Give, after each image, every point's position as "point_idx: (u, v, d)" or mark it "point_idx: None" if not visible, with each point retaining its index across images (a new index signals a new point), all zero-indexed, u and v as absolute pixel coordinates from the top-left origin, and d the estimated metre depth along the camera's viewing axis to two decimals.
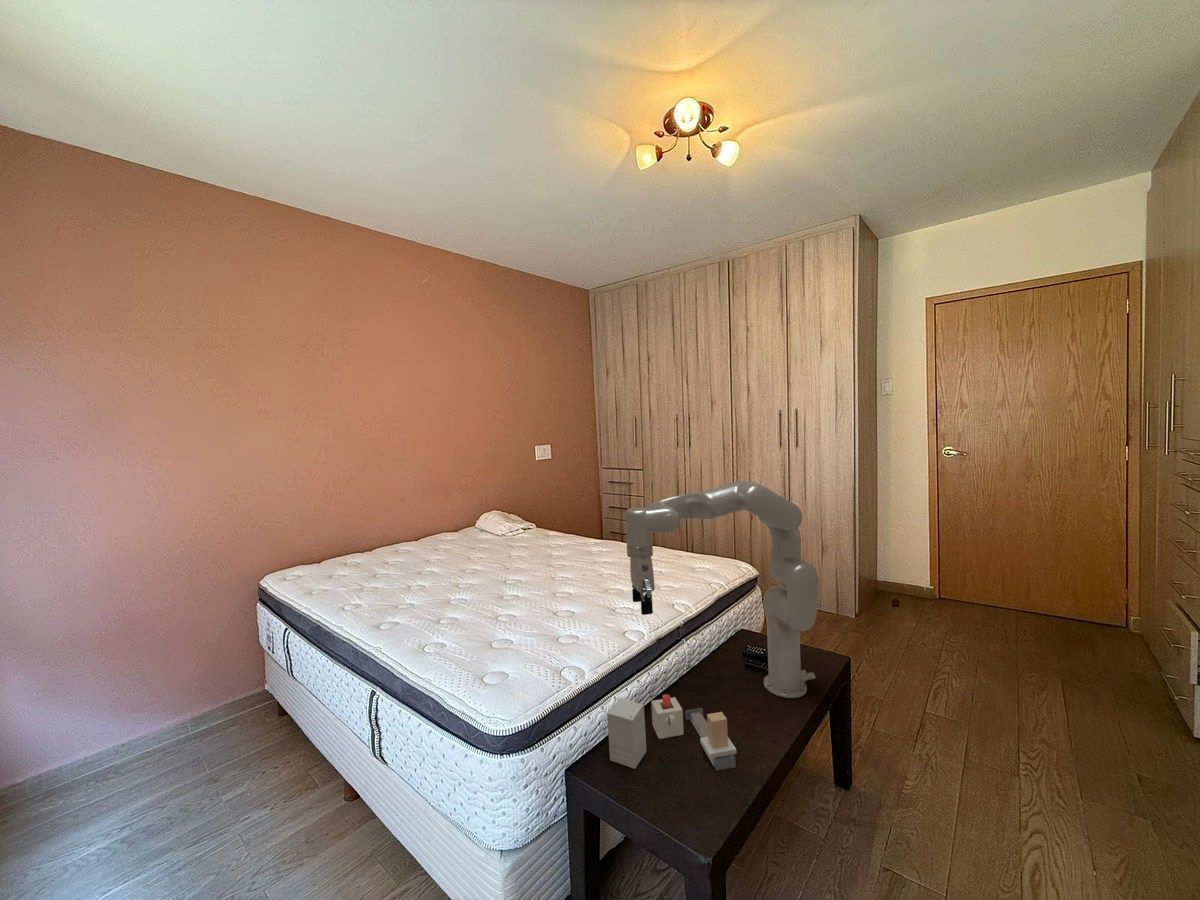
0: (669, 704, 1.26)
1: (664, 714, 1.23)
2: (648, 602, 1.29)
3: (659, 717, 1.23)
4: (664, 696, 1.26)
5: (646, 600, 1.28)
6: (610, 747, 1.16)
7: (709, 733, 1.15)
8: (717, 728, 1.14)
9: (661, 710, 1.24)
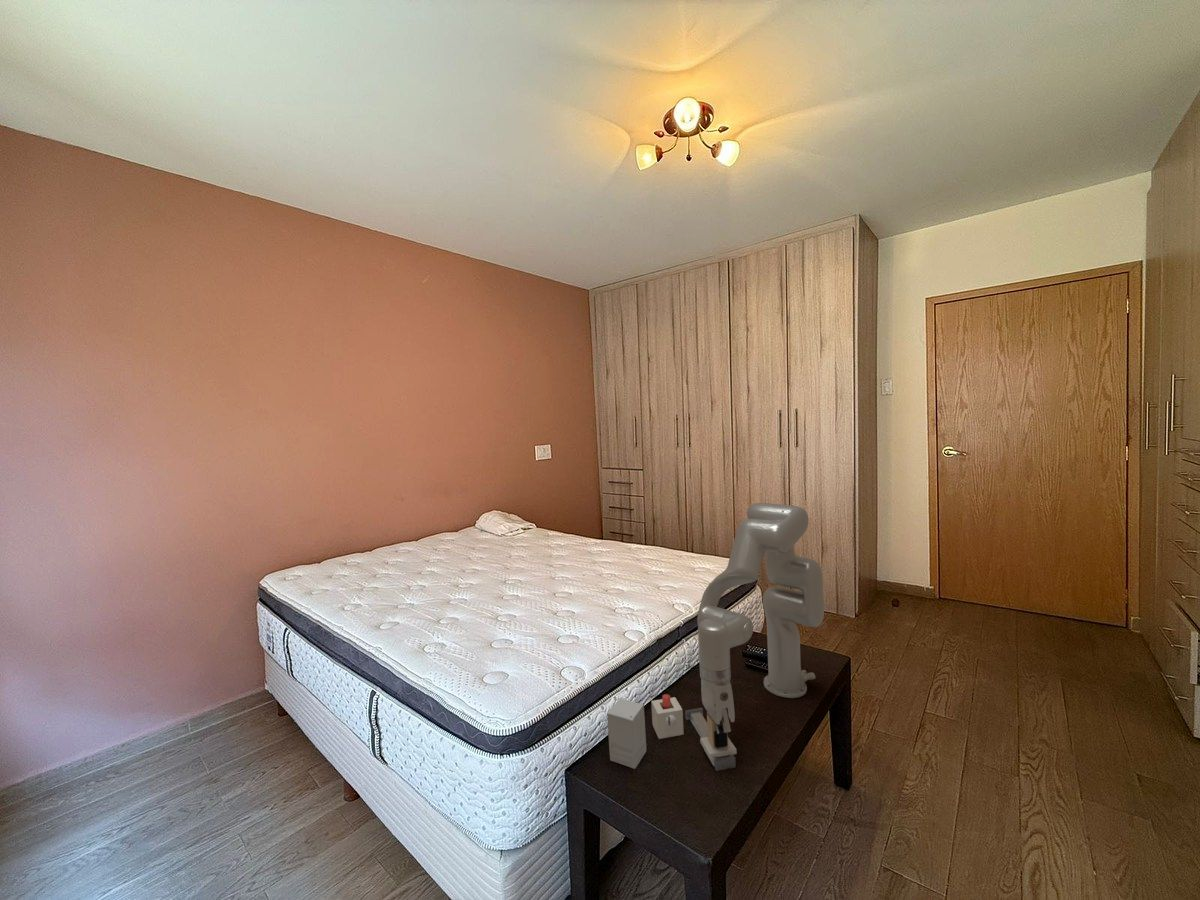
0: (669, 704, 1.26)
1: (664, 714, 1.23)
2: (723, 734, 1.13)
3: (659, 717, 1.23)
4: (664, 696, 1.26)
5: (721, 733, 1.12)
6: (610, 747, 1.16)
7: (709, 733, 1.15)
8: None
9: (661, 710, 1.24)
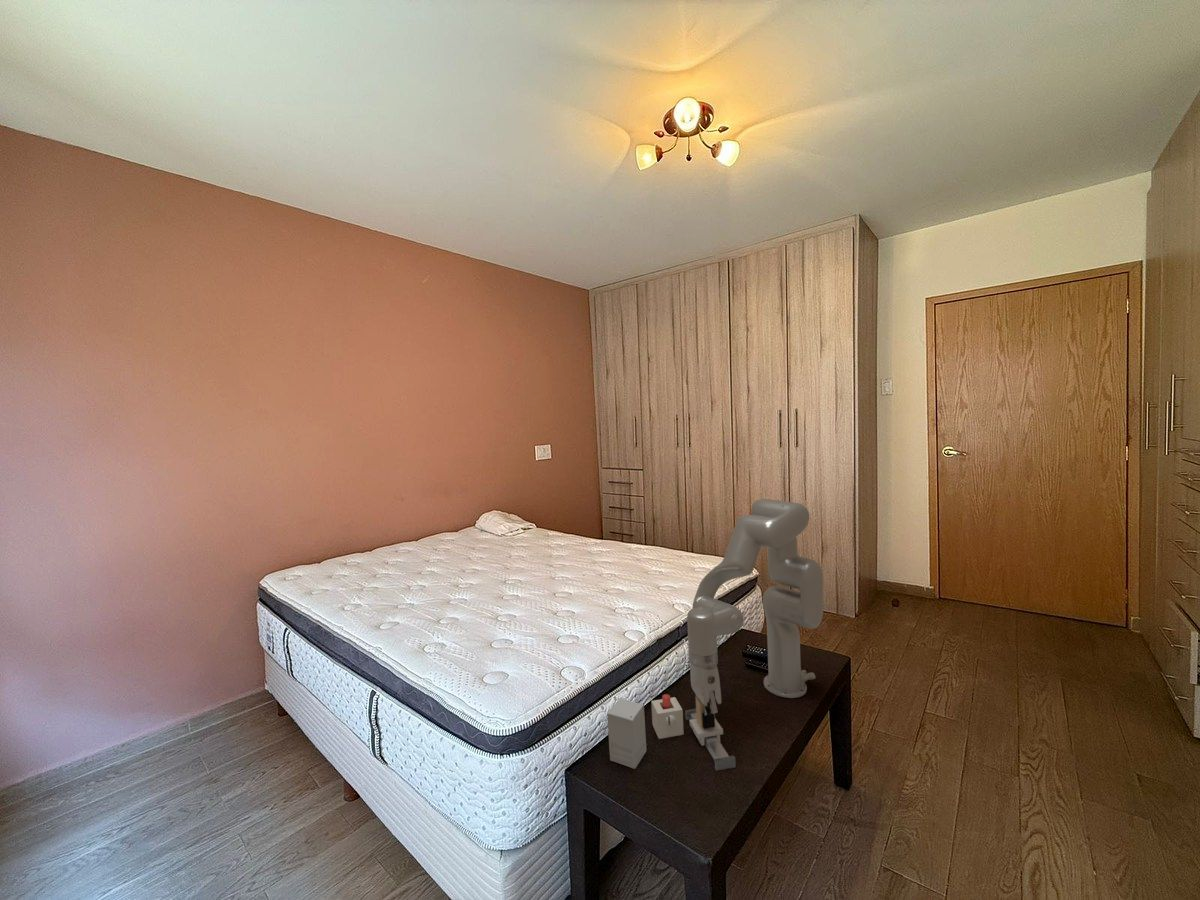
0: (669, 704, 1.26)
1: (664, 714, 1.23)
2: (710, 715, 1.20)
3: (659, 717, 1.23)
4: (664, 696, 1.26)
5: (709, 714, 1.19)
6: (610, 747, 1.16)
7: (697, 715, 1.23)
8: None
9: (661, 710, 1.24)
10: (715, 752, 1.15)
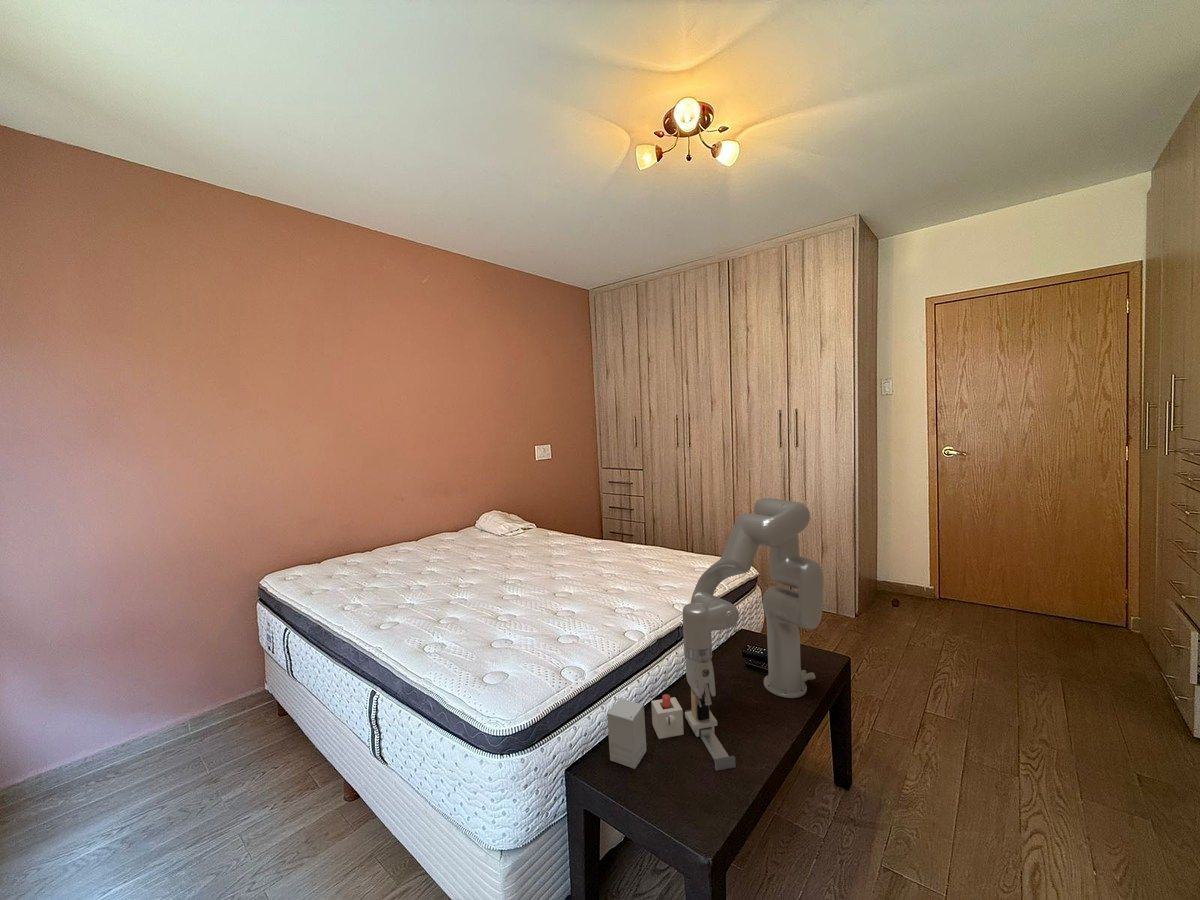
0: (669, 704, 1.26)
1: (664, 714, 1.23)
2: (705, 708, 1.23)
3: (659, 717, 1.23)
4: (664, 696, 1.26)
5: (703, 706, 1.23)
6: (610, 747, 1.16)
7: (693, 707, 1.26)
8: None
9: (661, 710, 1.24)
10: (715, 752, 1.15)
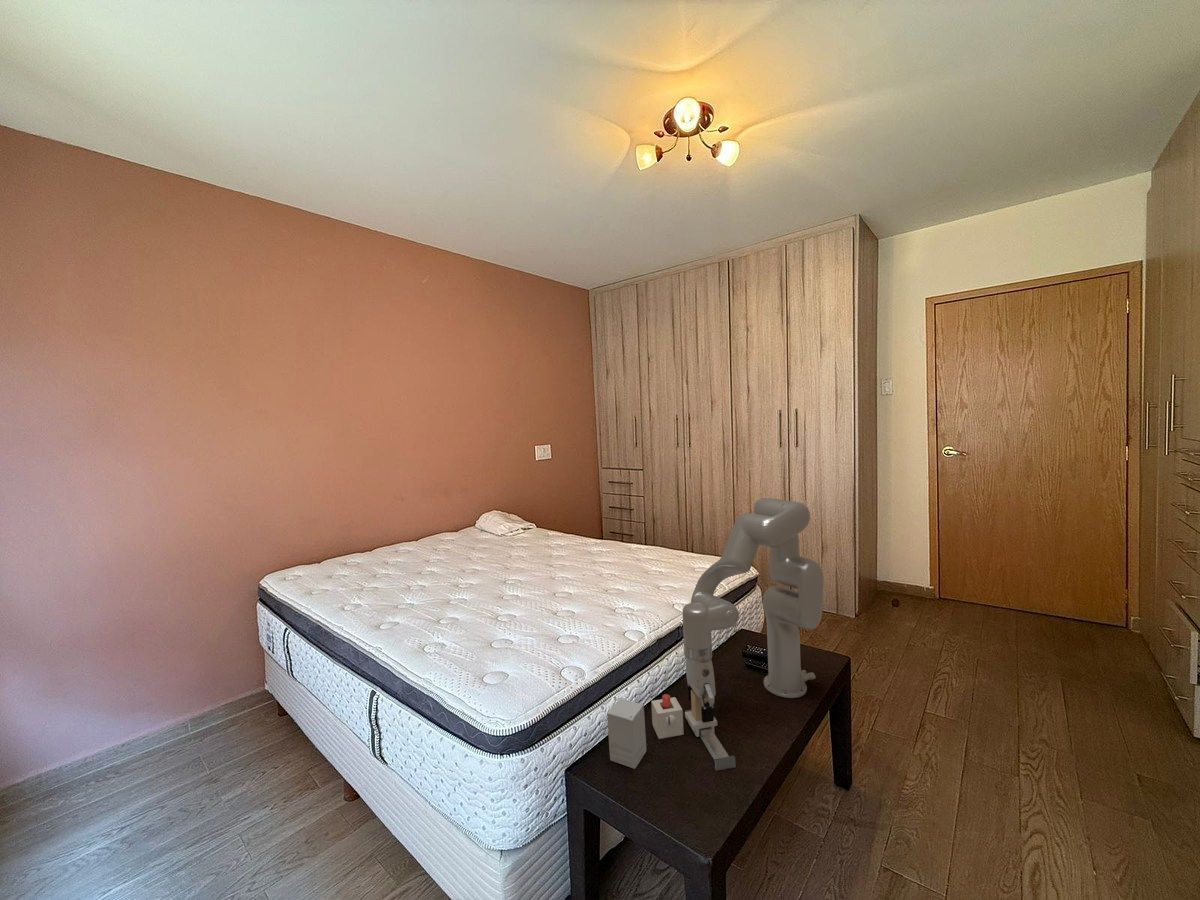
0: (669, 704, 1.26)
1: (664, 714, 1.23)
2: (709, 709, 1.20)
3: (659, 717, 1.23)
4: (664, 696, 1.26)
5: (708, 708, 1.20)
6: (610, 747, 1.16)
7: (693, 707, 1.26)
8: (700, 702, 1.25)
9: (661, 710, 1.24)
10: (715, 752, 1.15)
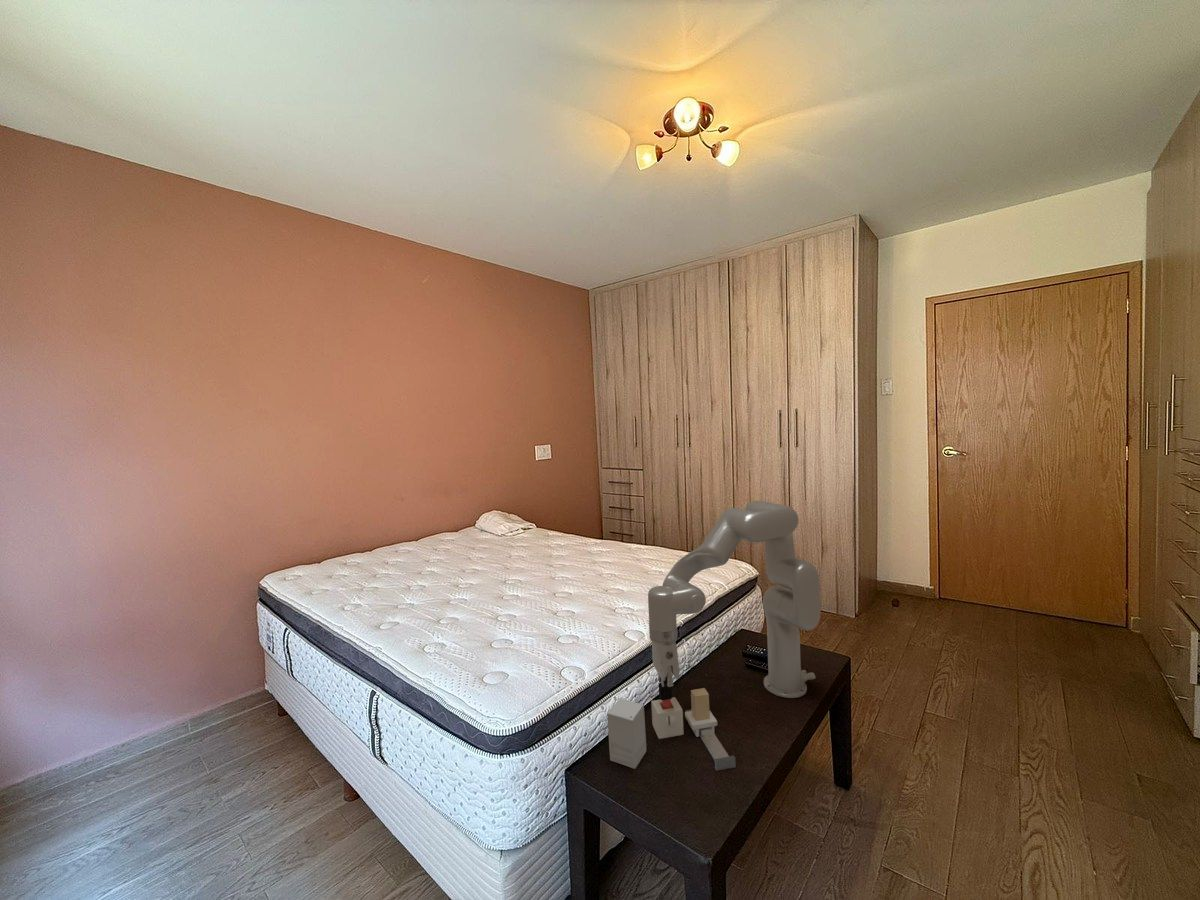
0: (669, 705, 1.26)
1: (664, 714, 1.23)
2: (667, 687, 1.25)
3: (659, 717, 1.23)
4: None
5: (665, 686, 1.24)
6: (610, 747, 1.16)
7: (693, 707, 1.26)
8: (700, 702, 1.25)
9: (661, 710, 1.24)
10: (715, 752, 1.15)
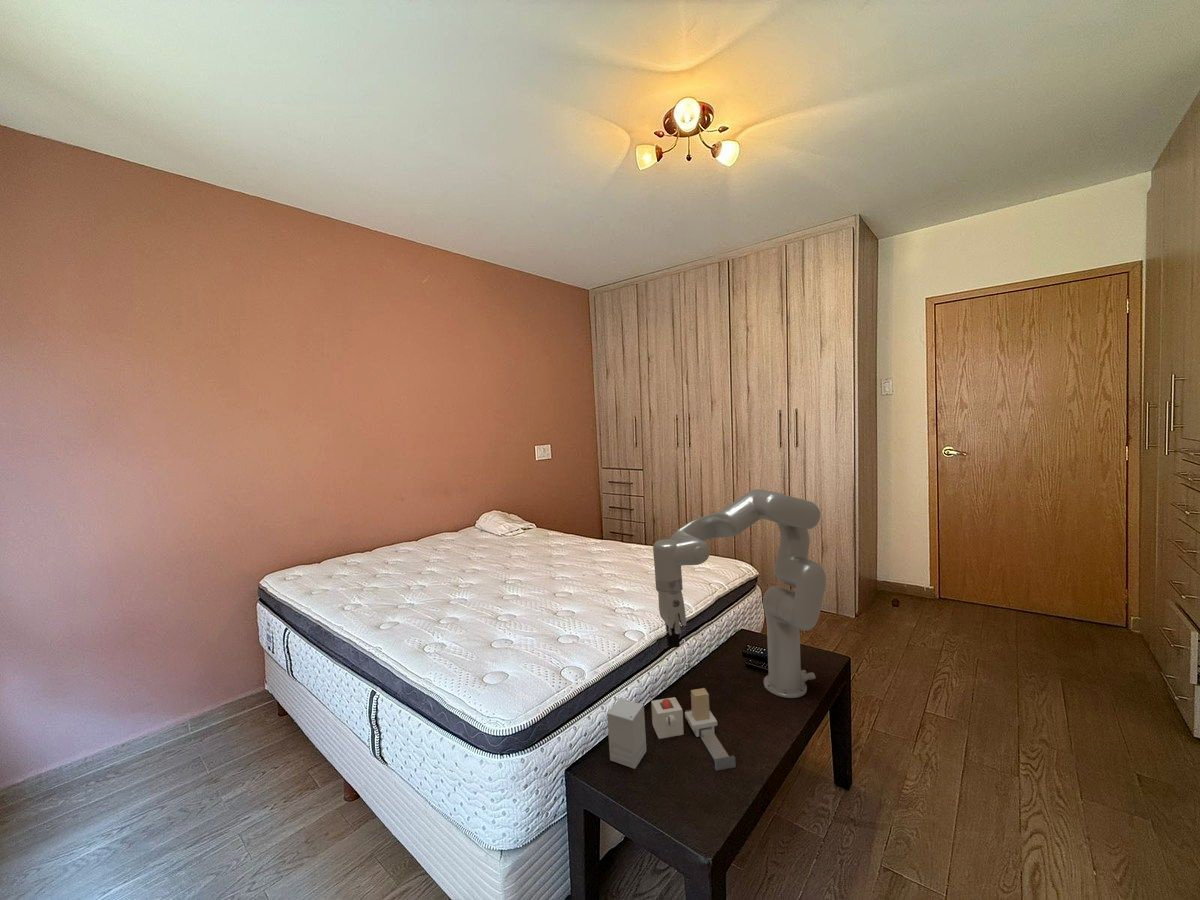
0: None
1: (664, 714, 1.23)
2: (675, 636, 1.30)
3: (659, 717, 1.23)
4: (664, 701, 1.27)
5: (673, 634, 1.29)
6: (610, 747, 1.16)
7: (693, 707, 1.26)
8: (700, 702, 1.25)
9: (661, 710, 1.24)
10: (715, 752, 1.15)
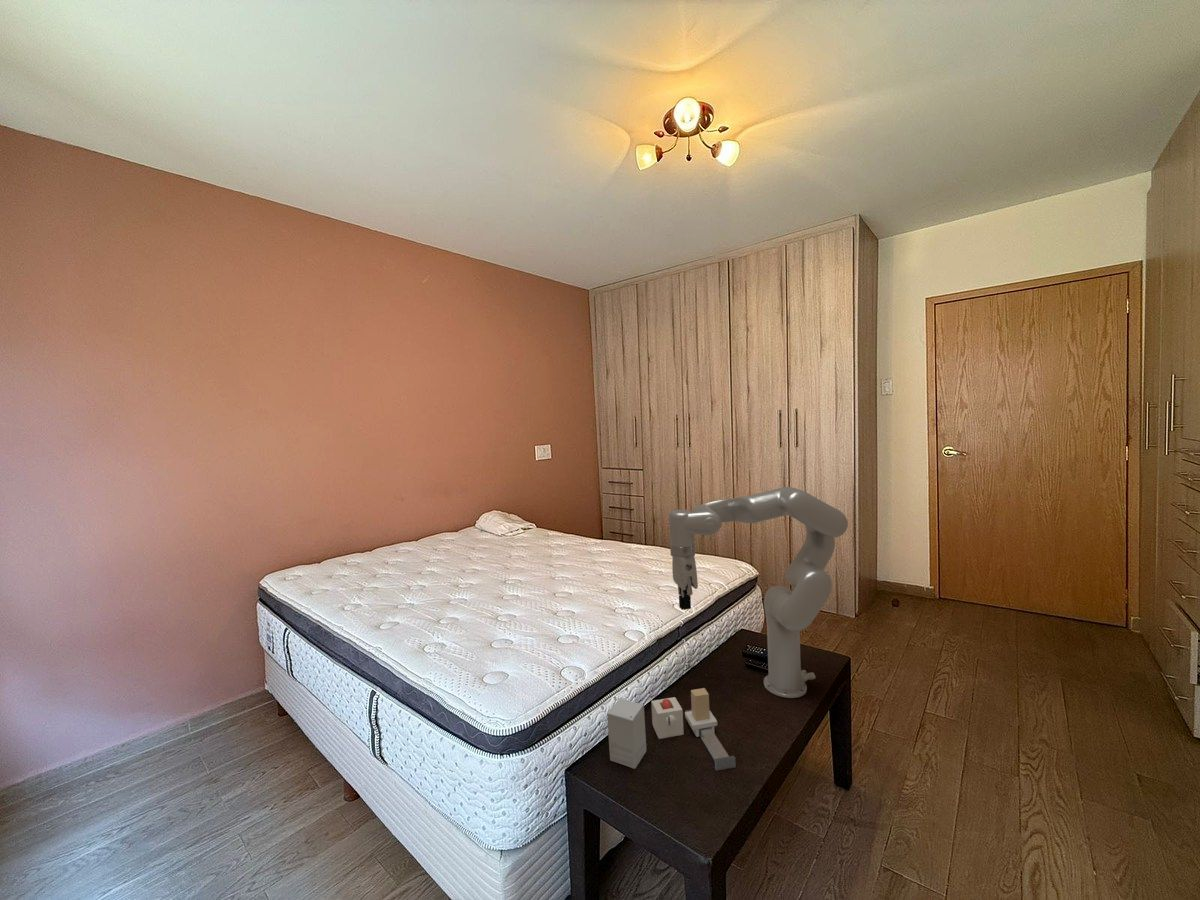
0: None
1: (664, 714, 1.23)
2: (687, 598, 1.41)
3: (659, 717, 1.23)
4: (664, 701, 1.27)
5: (685, 596, 1.40)
6: (610, 747, 1.16)
7: (693, 707, 1.26)
8: (700, 702, 1.25)
9: (661, 710, 1.24)
10: (715, 752, 1.15)
